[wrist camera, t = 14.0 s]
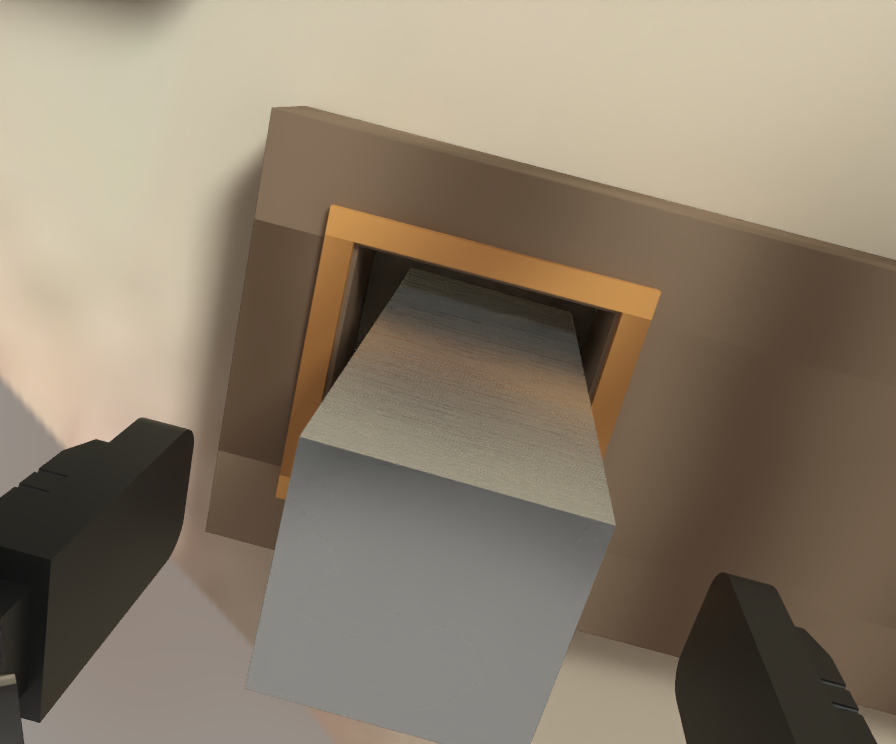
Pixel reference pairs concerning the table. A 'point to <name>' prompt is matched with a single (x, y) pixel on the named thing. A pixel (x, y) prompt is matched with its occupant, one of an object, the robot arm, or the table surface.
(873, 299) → the hole board
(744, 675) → the robot arm
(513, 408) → the steel peg
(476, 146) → the table surface
